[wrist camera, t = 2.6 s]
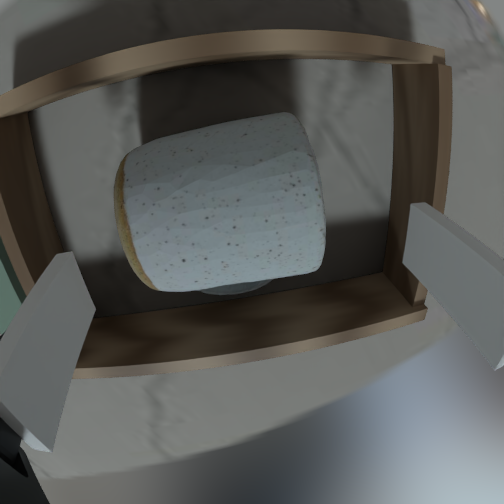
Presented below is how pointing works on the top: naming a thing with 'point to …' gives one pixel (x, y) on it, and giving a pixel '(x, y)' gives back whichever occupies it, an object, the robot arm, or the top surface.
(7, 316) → the rubber mat
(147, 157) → the ceramic mug
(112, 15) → the top surface
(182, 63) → the open wooden box frame
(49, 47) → the top surface
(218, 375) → the top surface
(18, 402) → the robot arm
